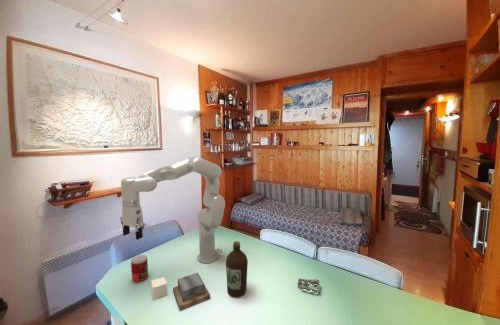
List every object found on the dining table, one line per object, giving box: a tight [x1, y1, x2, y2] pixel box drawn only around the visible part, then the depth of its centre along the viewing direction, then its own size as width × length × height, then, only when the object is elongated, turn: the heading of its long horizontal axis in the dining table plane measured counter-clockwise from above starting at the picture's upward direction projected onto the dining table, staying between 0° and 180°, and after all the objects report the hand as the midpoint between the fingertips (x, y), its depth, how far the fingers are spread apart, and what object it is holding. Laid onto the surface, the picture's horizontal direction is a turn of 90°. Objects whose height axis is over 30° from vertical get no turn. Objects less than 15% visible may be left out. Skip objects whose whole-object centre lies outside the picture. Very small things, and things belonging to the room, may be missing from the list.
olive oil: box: [225, 240, 249, 299], centre depth 103 cm, size 11×11×25 cm
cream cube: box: [150, 276, 168, 301], centre depth 103 cm, size 6×6×6 cm
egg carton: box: [297, 277, 321, 294], centre depth 106 cm, size 11×8×4 cm
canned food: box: [130, 254, 149, 283], centre depth 114 cm, size 8×8×11 cm
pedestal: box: [172, 272, 211, 312], centre depth 102 cm, size 14×14×7 cm
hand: (132, 236), depth 105 cm, fingers open, 9 cm apart
